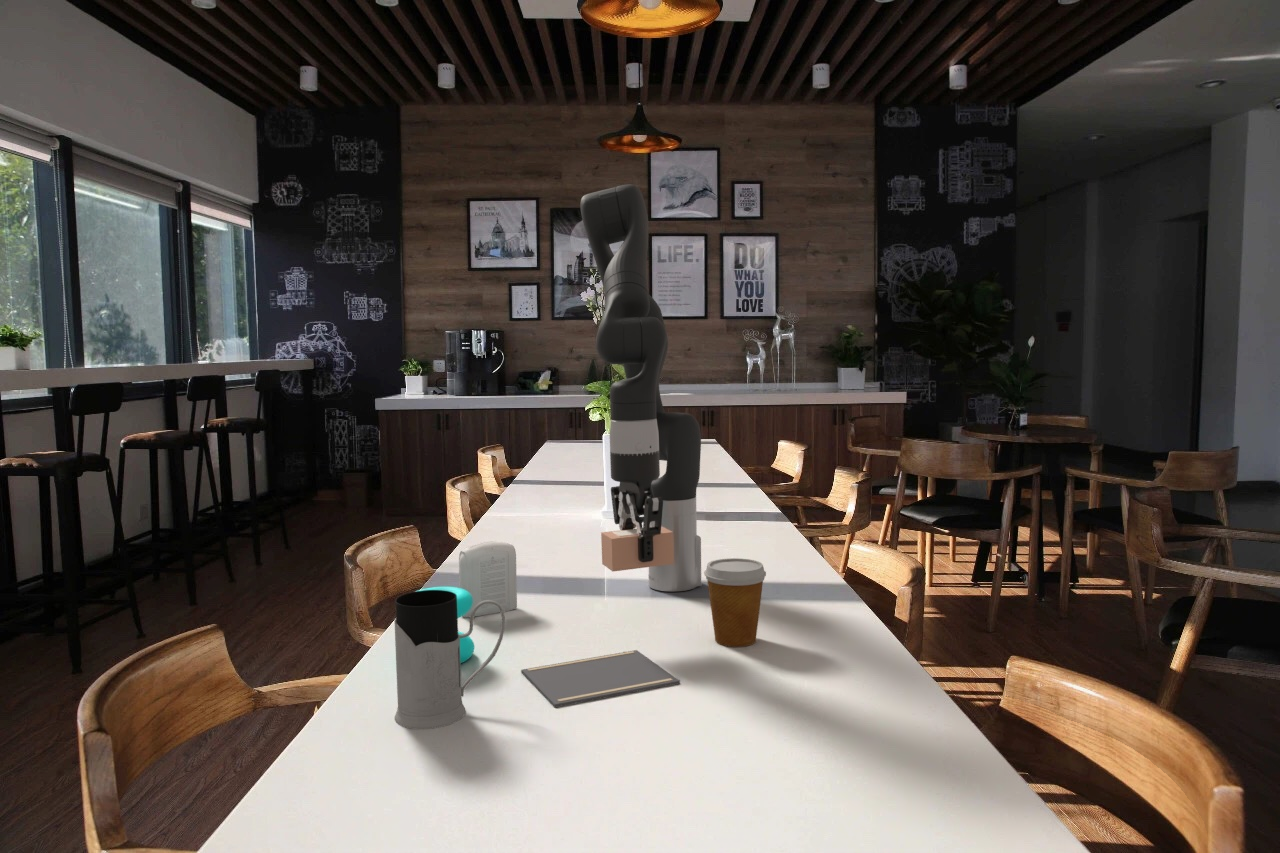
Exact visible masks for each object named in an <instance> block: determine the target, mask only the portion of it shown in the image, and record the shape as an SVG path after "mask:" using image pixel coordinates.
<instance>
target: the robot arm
mask: <svg viewBox="0 0 1280 853" xmlns="http://www.w3.org/2000/svg"><path fill="white" fill-rule="evenodd" d="M579 208H580V213H581V218H582V219H581V220H582V224H583V226H584V230H585V233H586V236H587V239H588V242H589V246H590V249H591V251H592V255H593V258H594V261H595V264H596V267H597V270H598V274H599V277H600V280H601V283H602V287H603V293H604V310H603V315H602V317H601V321H600V323H599V326H598V330H597V333H596V338H595V339H596V340H595V344H596V346H595V347H596V352H597V354H598V356H599V357H600V358H601V360H603V361H604V362H605V363H607V364H610V365H622V366H623V370H624V374H625V379H621V380H617V381H615V382H613V383H612V384H611V385H610V387H609V388H610V390H609V402H610V403H609V406H610V407H609V408H610V410H609V411H610V412H609V413H610V426H609V427H610V428H609V459H610V460H609V462H610V463H609V464H610V478H611V479H612V481H615V482H618V483H619V485H618V486H617V485H616V486H612V487H611V488H610V494H611V496H610V497H611V504H612V513H613V519H614V520H613V521H614V524H615V525H618V527H619V530H628V529H637V533H638V537H639V538H638V558H639V561H641V562H649V561H652V560H653V537H654V536H655V535H659V534H660V533H661V526H662V527H664V528H666V529H668V530H670V531H672V532H673V542H674V564H669V565H661V566H653V567H648V586H649V588H651V589H653V590H656V591H662V592H683V591H689V590H693V589H695V588H697V587H701V586H702V537H701V536H700V535H698V534H697V532H698V531H697V525H698V524H697V488H698V485H699V481H700V474H701V473H700V472H701V450H702V433H701V428H700V424H699V421H698V420H697V419H696V417H695V416H694V415H692V414H690V413H688V412H687V413H686V412H672V411H666V410H665V409H664V406H663V400H662V398H661V391H660V378H661V374H662V371H663V367H664V366H665V365H664V364H665V362H666V361H665V360H666V359H667V358H666V357H667V354H668V348H669V339H668V338H669V337H668V335H667V330H666V326H665V321H664V317H663V313H662V308H660V306H659V304H658V303H657V301H656V300H655V299H654V298H653V297H652V296H651V295H650V293H649V286H648V281H647V280H648V278H647V257H648V248H649V247H648V246H649V243H648V242H649V217H648V211H647V206H646V203H645V199H644V195H643V193H642V191H641V190H640V188H639V187H638V186H637V185H635V184H633V183H632V184H630V183H628V184H622V185H618V186H614V187H611V188H610V187H609V188H606V189H602V190H598V191H593V192H590V193H587V194H584V195H583V196H582V197H581V199H580V207H579ZM621 242H622V244H621V245H620V246H619V247H618V249H617V251H616V252H615V254H614V252H613V251H612V247H611V246H610V245H612V244H616V243H621ZM660 461H665V462H666V468H665V473H664V474H663V475H662V476H661V475H660V474H661V472H660V471H661V470H660V469H661V468H660V464H661V463H660Z"/></svg>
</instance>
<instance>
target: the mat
mask: <svg viewBox="0 0 1280 853" xmlns="http://www.w3.org/2000/svg"><path fill="white" fill-rule="evenodd" d="M520 672H521V674H522V675H523V676H524V677H525V678H526V679H527V681H529V682H530V684H531V685H533V686H534V687H535V689H536V690H537V691H538V692H539V693H540V694H541V695H542V696H543V697H544V698H545V699H546V700H547V701H548V703H550V704H551V705H552V706H553V708H558V707H564V706H568V705H569V706H571V705H575V704H579V703H585V702H590V701H595V700H600V699H601V700H602V699H605V698H611V697H614V696H621V695H626V694H632V693H638V692H641V691H648V690H653V689H658V687H659V688H664V687H667V686H674V685H678V684H680V682H681V680H680V679H678V678H677V677H675V676H674V675H672V674H671V673H670V672H668V671H667V670H665V669H664V668H663V667H661V666H660V665H658V664H657V663H655V662H654V661H653V660H652V659H650V658H649V657H647V656H646V655H645V654H643V653H642V652H640V651H639V650H637V649H635V650H628V651H623V652H617V653H612V654H605V655H600V656H594V657H593V656H592V657H588V658H580V659H575V660H571V661H565V662H560V663H559V662H558V663H553V664H547V665H541V666H540V665H539V666H535V667H529V668H524V669H521V670H520ZM637 691H638V692H637Z"/></svg>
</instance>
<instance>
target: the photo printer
mask: <svg viewBox="0 0 1280 853" xmlns="http://www.w3.org/2000/svg"><path fill="white" fill-rule="evenodd" d="M516 552H517V551H516V549H515V546H514V544H512V543H509V542H505V541H497V540H495V541H483V542H478V543H475V544H472V545H470V546H468V547H466V548H463V549H461V550H460V552H459V557H458V575H459V576H458V577H459V579H458V580H459V584H458V586H459V588H462V589H464V590H466V591H468V592H469V593H470V594H471V596H472V598H473V604H472V607H471V609H470V610H469V611H468V612H467V613H466V614H465V615H463V616H462V617H463V618H465V619H467V618H469V619H470V615H471V612H472V610H473V608H474V607H475V606H476V605H477V604H478V603H479V602H482V601H484V600H491V601H495V602H497V603H498V604H500V605H501V607H502V609H503V610H504V612H507V611H514V610H513V609H515V610H516V609H517V606H518V594H517V592H518V590H517V587H518V585H517V584H518V583H517V553H516ZM496 613H501V611H500V609H499V607H498V606H496V605H495V604H491V603H486V604H483V605H481V606H480V607H479V608H478V609H477V611H476V612H475V615H474V617H480V616H484V615H490V614H496Z"/></svg>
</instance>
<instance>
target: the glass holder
mask: <svg viewBox="0 0 1280 853" xmlns="http://www.w3.org/2000/svg"><path fill="white" fill-rule="evenodd" d="M394 602H395V603H394V607H395V618H394V620H393V621H394V641H395V642H394V644H395V664H396V665H395V667H396V668H395V669H396V689H397V690H396V693H397V696H396V697H397V708H396V713H395V715H394V722H395V723H396V724H397V725H398V726H401V727H402V728H403V727H404V728H406V729H412V730H413V729H415V730H429V729H436V728H438V729H439V728H442V727H447V726H449V725H452V724H454V723H456V722H458V721H460V720H461V719H462V718H463V717H464V716H465V715H466V714H467V713H466V712H467V710H466V707H465V705H464V703H463V697H464V696H465V693H464V692H465V689H466V688H467V686H469V684H470V683H471V681H473V680H474V679H475V678H476V677H477V675H479V674H480V673H481V672H482V671H483V670H484V669H485V668H486V666H488V664H489V663H490V662H491V661H492V660H493V659H494V657H495V656H496V654H497V653H498V651H499V648H500V646H501V643H502V641H503V638H504V633H505V628H506V627H505V626H506V625H505V623H506V621H505V620H506V617H505V611H504V610H503V609H502V607H501V605H500V604H498V603H497V602H495V601H491V600H484V601H482V602H479V603H478V604H477V605H476V606H475V607H474V608H473V610H472V612H471V615H470V617H469V629H468V631H467V632H465V633H464V634H460V635H459V634H458V631H459V626H458V625H459V624H458V623H459V622H458V620H459V618H457V595H456V594H455V593H453V592H450V591H443V590H424V591H418V590H416V592H415V591H412V592H408V593H404V594H401V595H399V596H397V597H396V598H395V600H394ZM486 603H491V604H495V605H496V606H498V607H499V609H500V611H501V612H500V615H501V622H500V624H501V625H500V632H499V637H498V639H497V642H496V644H495V646H494V647H493V650H492V652H491V654H489V656H488V657H487V658H486V659H485V661H484V662H483V663H482V664H481V665H480V666H479V667H478V668H477V669H476V670H475V671H474V672H473V673H472V674H471V675H469V677H468V678H467V679H466V680H465V681H464V683H463V684H462V674H461V673H462V670H461V668H462V667H461V663H460V638H464V637H467V636H469V637H470V635H471V634H472V632H473V630H474V617H475V616H474V615H475V612H476V611H477V609H478V608H479V607H480V606H481V605H483V604H486Z"/></svg>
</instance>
